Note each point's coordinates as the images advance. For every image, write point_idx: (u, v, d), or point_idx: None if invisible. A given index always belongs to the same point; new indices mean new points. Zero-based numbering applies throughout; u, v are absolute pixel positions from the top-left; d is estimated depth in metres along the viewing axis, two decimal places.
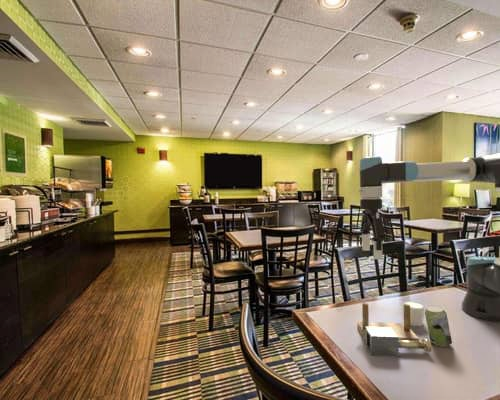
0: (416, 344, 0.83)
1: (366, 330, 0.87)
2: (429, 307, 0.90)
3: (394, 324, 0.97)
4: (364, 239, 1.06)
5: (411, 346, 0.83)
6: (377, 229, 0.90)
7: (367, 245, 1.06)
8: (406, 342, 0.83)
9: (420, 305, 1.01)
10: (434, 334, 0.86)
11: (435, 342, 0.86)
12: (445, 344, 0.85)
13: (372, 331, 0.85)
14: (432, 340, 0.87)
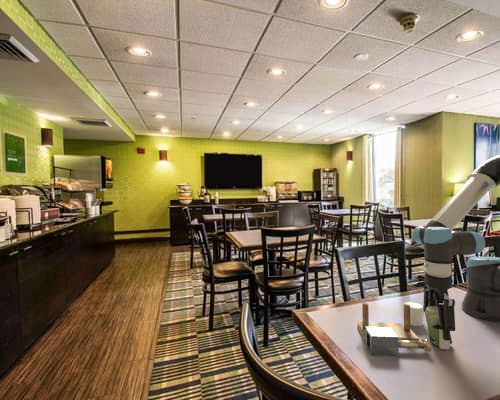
0: (416, 344, 0.83)
1: (366, 330, 0.87)
2: (429, 307, 0.90)
3: (394, 324, 0.97)
4: None
5: (411, 346, 0.83)
6: (448, 319, 0.81)
7: None
8: (406, 342, 0.83)
9: (420, 305, 1.01)
10: (434, 334, 0.86)
11: (435, 342, 0.86)
12: None
13: (372, 331, 0.85)
14: (432, 340, 0.87)
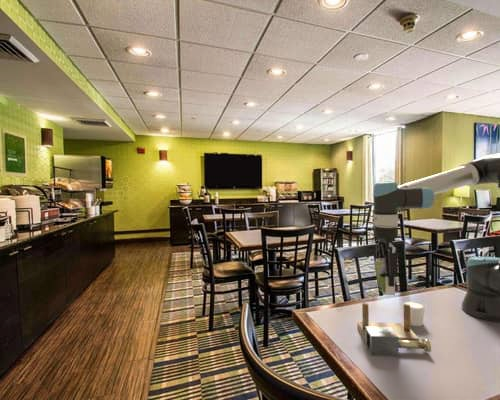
0: (416, 344, 0.83)
1: (366, 330, 0.87)
2: (378, 258, 0.95)
3: (394, 324, 0.97)
4: None
5: (411, 346, 0.83)
6: (391, 265, 0.86)
7: None
8: (406, 342, 0.83)
9: (420, 305, 1.01)
10: (381, 282, 0.91)
11: (382, 290, 0.91)
12: None
13: (372, 331, 0.85)
14: (380, 289, 0.92)
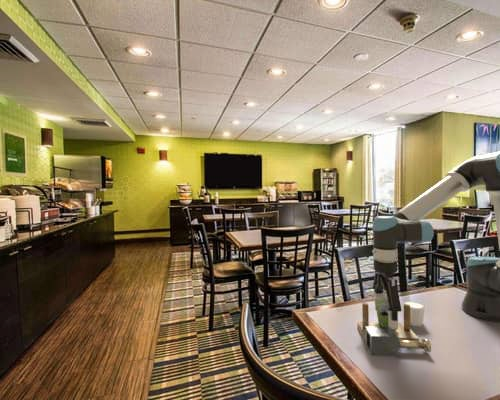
0: (416, 344, 0.83)
1: (366, 330, 0.87)
2: (379, 295, 0.95)
3: None
4: None
5: (411, 346, 0.83)
6: (393, 299, 0.85)
7: None
8: (406, 342, 0.83)
9: (420, 305, 1.01)
10: (381, 321, 0.92)
11: None
12: None
13: (372, 331, 0.85)
14: (380, 326, 0.93)
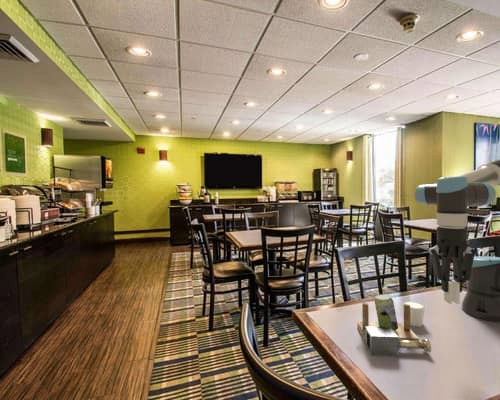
0: (416, 344, 0.83)
1: (366, 330, 0.87)
2: (378, 295, 0.95)
3: None
4: (453, 287, 0.82)
5: (411, 346, 0.83)
6: (433, 267, 0.83)
7: (455, 296, 0.81)
8: (406, 342, 0.83)
9: (420, 305, 1.01)
10: (381, 321, 0.92)
11: None
12: None
13: (372, 331, 0.85)
14: (380, 326, 0.93)
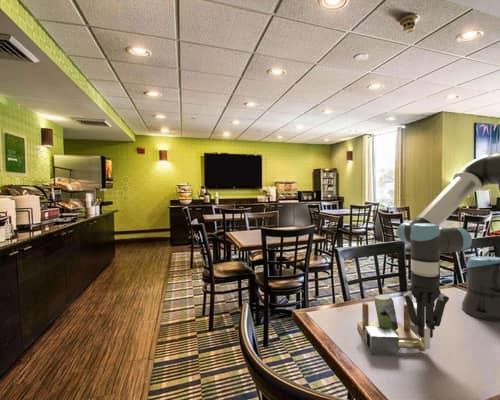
0: (411, 344, 0.83)
1: (366, 330, 0.87)
2: (378, 295, 0.95)
3: None
4: None
5: (406, 346, 0.83)
6: (409, 312, 0.84)
7: None
8: (401, 342, 0.83)
9: None
10: (381, 321, 0.92)
11: None
12: None
13: (372, 331, 0.85)
14: (380, 326, 0.93)
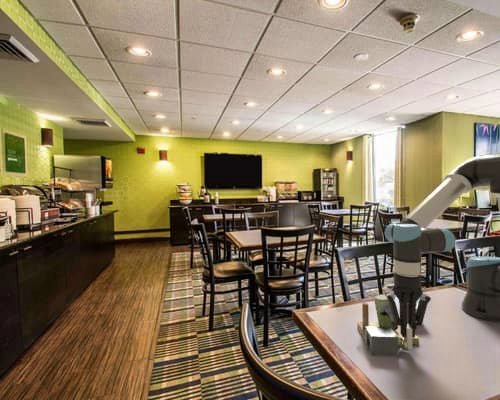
0: None
1: (366, 330, 0.87)
2: (378, 295, 0.95)
3: None
4: None
5: None
6: (392, 312, 0.85)
7: None
8: None
9: None
10: (381, 321, 0.92)
11: None
12: None
13: (372, 331, 0.85)
14: (380, 326, 0.93)
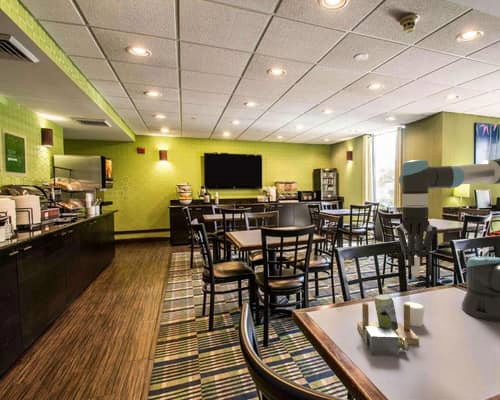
0: None
1: (366, 330, 0.87)
2: (378, 295, 0.95)
3: None
4: None
5: None
6: (400, 243, 0.91)
7: None
8: None
9: (420, 305, 1.01)
10: (381, 321, 0.92)
11: None
12: None
13: (372, 331, 0.85)
14: (380, 326, 0.93)
